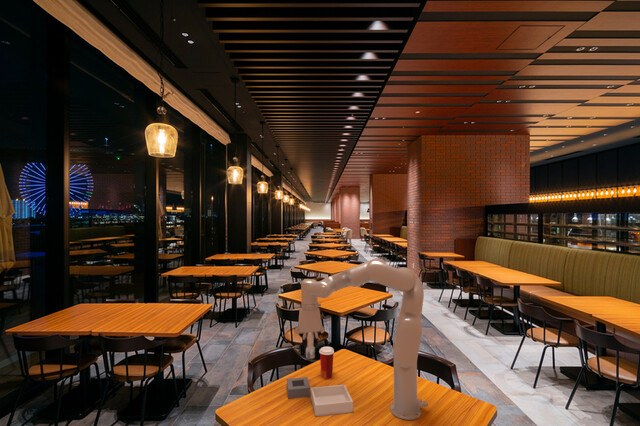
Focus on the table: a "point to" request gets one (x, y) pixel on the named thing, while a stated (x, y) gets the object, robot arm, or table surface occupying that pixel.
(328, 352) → the paper cup
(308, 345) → the pin
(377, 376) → the table surface
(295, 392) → the block
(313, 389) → the tray
